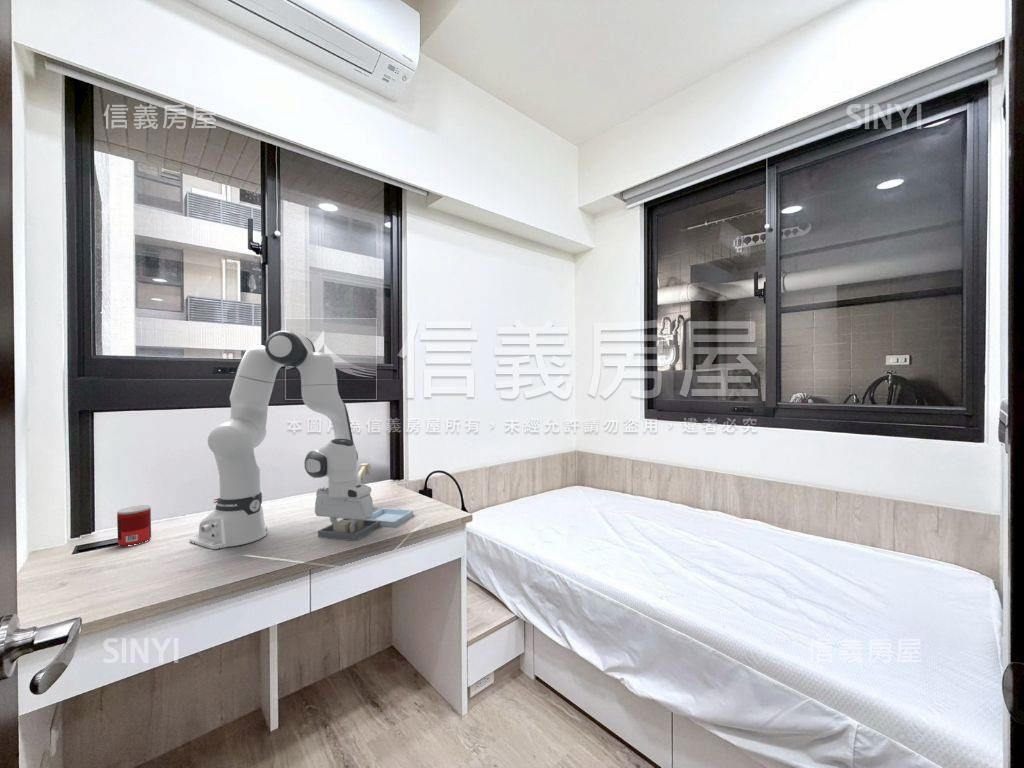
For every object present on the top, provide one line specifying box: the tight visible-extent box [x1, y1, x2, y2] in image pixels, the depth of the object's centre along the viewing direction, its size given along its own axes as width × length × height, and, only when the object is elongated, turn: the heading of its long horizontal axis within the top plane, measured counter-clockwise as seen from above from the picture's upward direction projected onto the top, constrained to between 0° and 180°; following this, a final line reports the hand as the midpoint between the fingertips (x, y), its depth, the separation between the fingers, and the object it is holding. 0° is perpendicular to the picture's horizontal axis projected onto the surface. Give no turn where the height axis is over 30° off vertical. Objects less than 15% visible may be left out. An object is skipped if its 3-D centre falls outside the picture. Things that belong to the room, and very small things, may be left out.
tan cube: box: [347, 519, 364, 530], centre depth 142 cm, size 4×4×4 cm
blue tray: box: [367, 507, 414, 528], centre depth 151 cm, size 13×13×2 cm
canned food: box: [116, 504, 152, 547], centre depth 133 cm, size 8×8×11 cm
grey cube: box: [334, 519, 353, 534], centre depth 136 cm, size 4×4×4 cm
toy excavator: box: [357, 462, 372, 496], centre depth 165 cm, size 9×17×17 cm, turn 174°
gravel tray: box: [317, 518, 381, 542], centre depth 139 cm, size 14×13×2 cm
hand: (343, 530), depth 136 cm, fingers closed on grey cube, 4 cm apart
